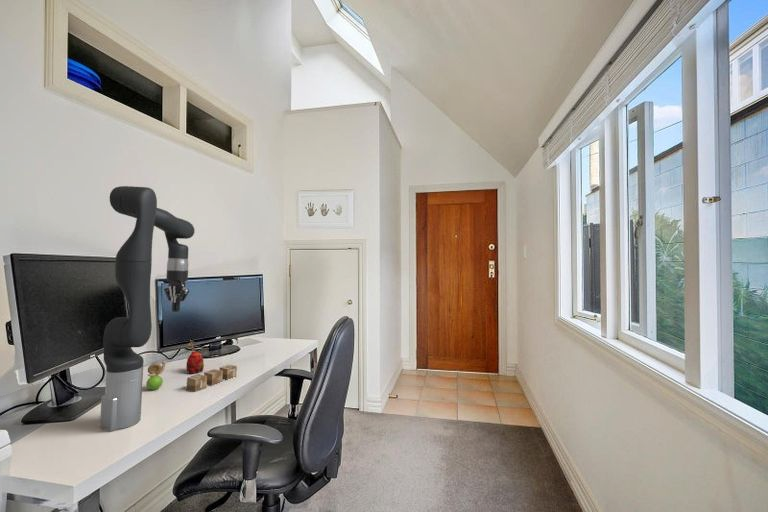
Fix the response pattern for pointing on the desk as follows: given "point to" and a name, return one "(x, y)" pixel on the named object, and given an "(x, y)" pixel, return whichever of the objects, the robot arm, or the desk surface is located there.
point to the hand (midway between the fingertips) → (175, 311)
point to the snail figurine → (155, 375)
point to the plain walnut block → (214, 376)
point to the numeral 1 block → (196, 382)
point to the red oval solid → (194, 362)
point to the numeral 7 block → (229, 371)
